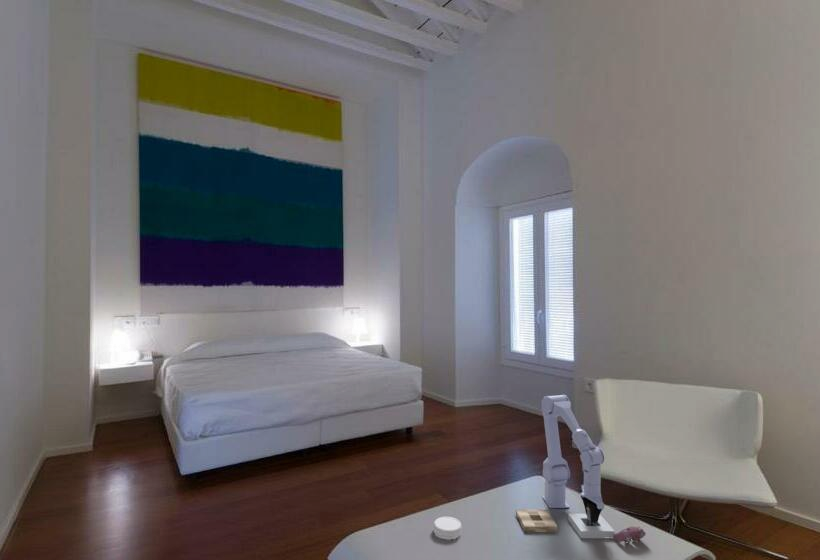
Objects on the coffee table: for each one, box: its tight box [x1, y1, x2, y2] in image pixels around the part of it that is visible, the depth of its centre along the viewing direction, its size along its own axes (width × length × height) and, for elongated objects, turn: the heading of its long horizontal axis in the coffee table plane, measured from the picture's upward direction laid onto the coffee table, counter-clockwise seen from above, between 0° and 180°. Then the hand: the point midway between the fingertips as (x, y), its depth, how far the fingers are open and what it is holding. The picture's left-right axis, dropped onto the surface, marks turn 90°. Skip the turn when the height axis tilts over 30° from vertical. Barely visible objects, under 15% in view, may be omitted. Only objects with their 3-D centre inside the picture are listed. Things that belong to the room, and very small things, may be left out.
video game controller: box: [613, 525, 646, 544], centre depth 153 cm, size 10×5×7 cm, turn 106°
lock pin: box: [586, 506, 596, 526], centre depth 161 cm, size 4×4×7 cm
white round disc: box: [433, 516, 462, 541], centre depth 158 cm, size 10×10×4 cm
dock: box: [567, 513, 616, 539], centre depth 161 cm, size 12×12×2 cm
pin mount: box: [515, 509, 559, 533], centre depth 164 cm, size 12×12×2 cm
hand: (592, 519), depth 161 cm, fingers closed on lock pin, 3 cm apart
